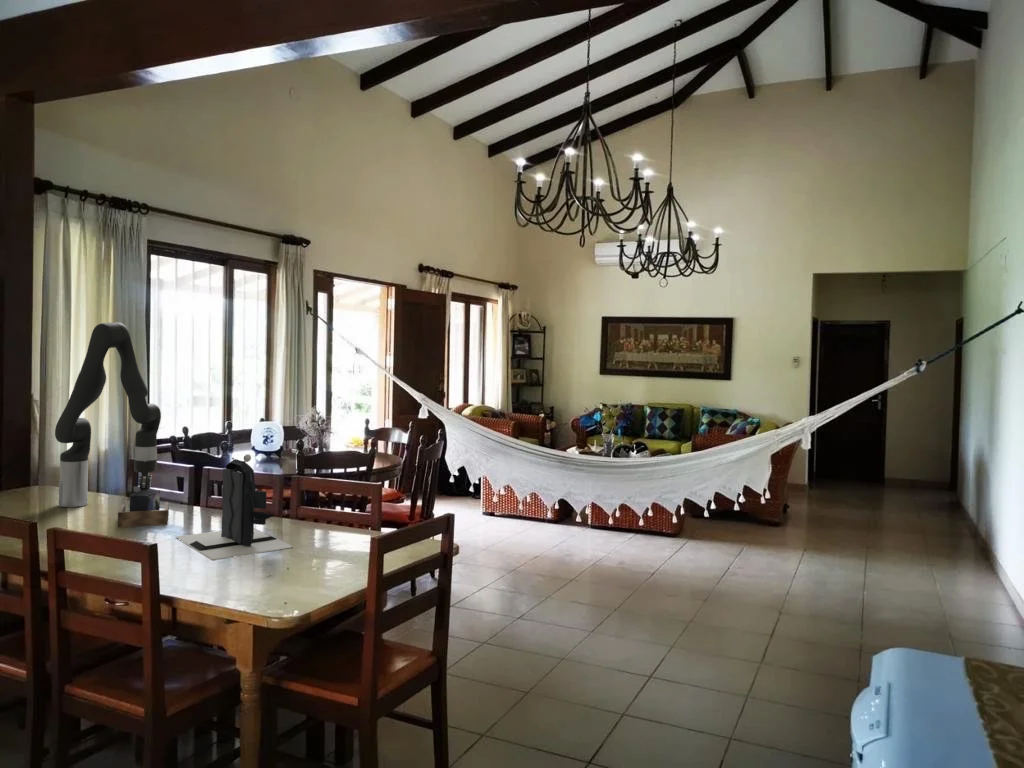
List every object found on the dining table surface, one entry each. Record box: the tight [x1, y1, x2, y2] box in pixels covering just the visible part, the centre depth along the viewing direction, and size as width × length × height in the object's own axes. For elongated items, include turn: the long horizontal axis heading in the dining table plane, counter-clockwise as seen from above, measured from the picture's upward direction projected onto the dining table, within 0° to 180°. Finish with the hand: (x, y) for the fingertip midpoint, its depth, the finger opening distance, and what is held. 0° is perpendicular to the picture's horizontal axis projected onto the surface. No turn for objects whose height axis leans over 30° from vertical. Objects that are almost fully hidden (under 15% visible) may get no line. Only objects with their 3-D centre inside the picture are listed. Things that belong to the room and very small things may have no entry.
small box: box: [129, 489, 161, 512], centre depth 267 cm, size 11×6×10 cm, turn 2°
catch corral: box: [117, 501, 170, 528], centre depth 268 cm, size 15×15×5 cm
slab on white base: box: [176, 453, 294, 561], centre depth 243 cm, size 32×25×28 cm
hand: (144, 505), depth 279 cm, fingers closed
